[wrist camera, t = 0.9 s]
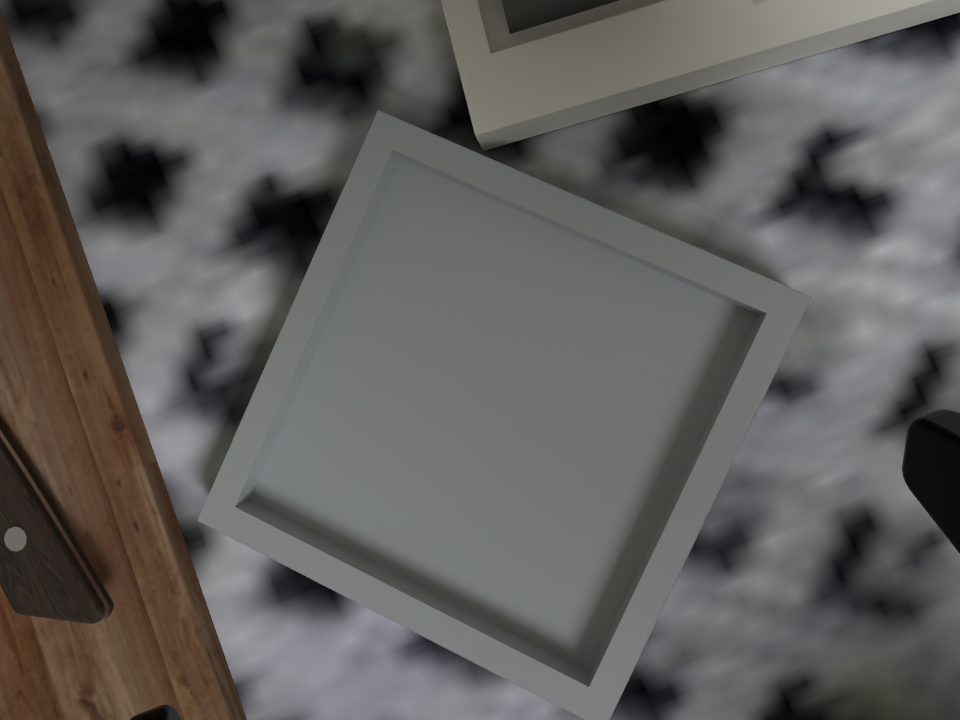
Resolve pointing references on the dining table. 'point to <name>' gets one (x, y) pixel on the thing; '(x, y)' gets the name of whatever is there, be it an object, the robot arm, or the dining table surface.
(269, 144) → the dining table surface
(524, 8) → the black plug
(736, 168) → the dining table surface
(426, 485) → the tray
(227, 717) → the chopping board
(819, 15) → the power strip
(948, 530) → the robot arm
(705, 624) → the dining table surface
